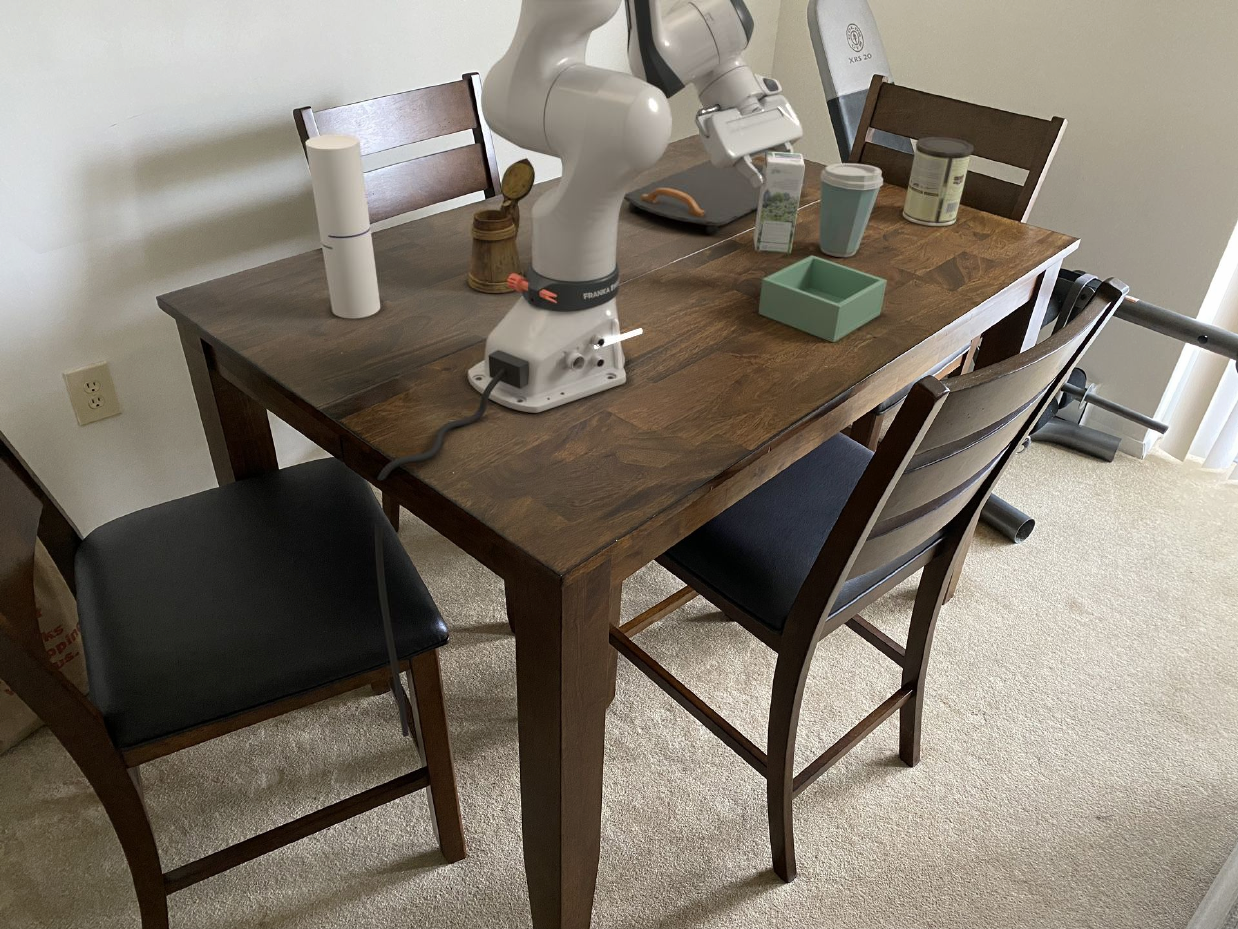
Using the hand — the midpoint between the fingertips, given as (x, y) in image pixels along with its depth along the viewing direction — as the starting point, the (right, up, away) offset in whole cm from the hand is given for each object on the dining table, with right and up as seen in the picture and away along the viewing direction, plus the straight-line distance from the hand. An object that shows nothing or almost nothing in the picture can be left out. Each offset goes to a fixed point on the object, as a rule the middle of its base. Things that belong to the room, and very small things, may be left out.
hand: (777, 179), depth 144 cm
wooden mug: (-43, -14, +10) cm, 46 cm away
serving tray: (-5, +8, +43) cm, 44 cm away
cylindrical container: (-65, -20, -1) cm, 68 cm away
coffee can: (+36, +4, +39) cm, 53 cm away
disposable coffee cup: (+15, -6, +23) cm, 28 cm away
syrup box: (0, -9, +6) cm, 11 cm away
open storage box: (+7, -21, +1) cm, 22 cm away
